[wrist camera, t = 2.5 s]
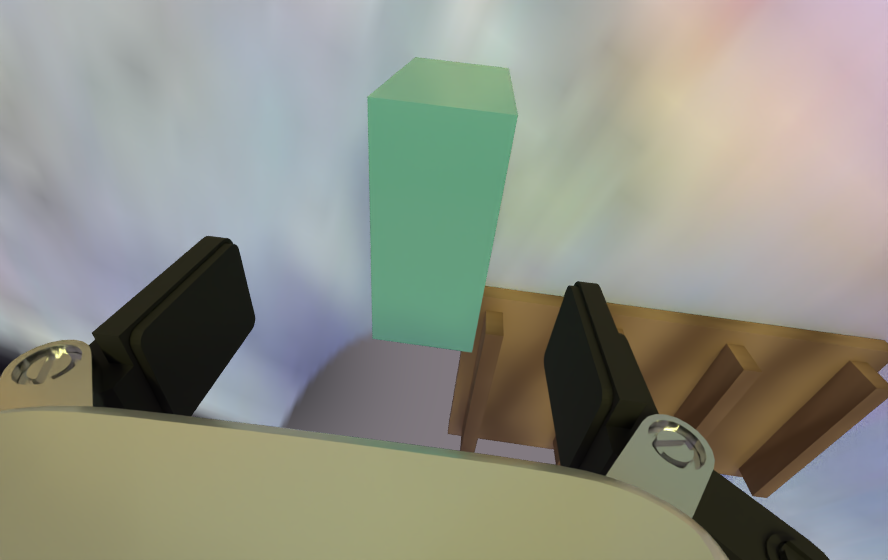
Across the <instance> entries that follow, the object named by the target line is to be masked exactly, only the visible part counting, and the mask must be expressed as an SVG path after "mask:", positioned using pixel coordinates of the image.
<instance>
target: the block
mask: <svg viewBox="0 0 888 560" xmlns="http://www.w3.org/2000/svg"><path fill="white" fill-rule="evenodd" d="M517 117H518V114H517V108H516V103H515V98H514V93H513V88H512V82H511V77H510V72H509V68H502V67H494V66H485V65H477V64H469V63H460V62H452V61H444V60H435V59H427V58H419V57H415V58H414V59H413V60H411V61H410V62H409V63H408V64H407V65H405V66H404V67H403V68H402V69H400V70H399V71H398V72H397V73H396V74H394V75H393V76H392V77H391V78H390V79H388V80H387V81H386V82H385V83H384V84H382V85H381V86H380V87H379V88H377V89H376V90H375V91H374V92H373V93H371V94H370V95H369V96H368V142H369V190H370V238H371V286H372V334H373V339H379V340H386V341H394V342H400V343H407V344H414V345H422V346H429V347H436V348H443V349H450V350H457V351H464V352H471V353H472V350H473V345H474V339H475V334H476V329H477V324H478V319H479V313H480V308H481V303H482V298H483V293H484V288H485V282H486V277H487V272H488V267H489V262H490V257H491V251H492V246H493V241H494V236H495V231H496V226H497V220H498V215H499V210H500V205H501V200H502V195H503V189H504V184H505V179H506V174H507V169H508V163H509V158H510V153H511V148H512V143H513V138H514V132H515V127H516V122H517Z"/></svg>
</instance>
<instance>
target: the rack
mask: <svg viewBox="0 0 888 560" xmlns="http://www.w3.org/2000/svg"><path fill="white" fill-rule="evenodd" d="M563 298H564V297H561V296H554V295H546V294H539V293H532V292H524V291H517V290H510V289H502V288H495V287H488V286H485V288H484V293H483V298H482V303H481V308H480V313H479V319H478V324H477V329H476V334H475V339H474V345H473V350H472V353H471V352H464V351H461V354H460V360H459V367H458V372H457V378H456V384H455V390H454V396H453V401H452V408H451V413H450V419H449V427H448V434H452V435H459V436H461V447H460V451H465V452H472V453H474V452H475V448H476V444H477V440H478V438H480V439H486V440H494V441H500V442H508V443H514V444H521V445H527V446H534V447H541V448H548V449H554V454H555V461H556V465H559V466H561V465H560V459H559V453H558V447H557V441H556V435H555V429H554V423H553V417H552V411H551V405H550V399H549V393H548V387H547V381H546V375H545V369H544V354H545V351H546V348H547V345H548V342H549V339H550V336H551V333H552V330H553V327H554V324H555V322H556V319H557V316H558V313H559V310H560V307H561V304H562V301H563ZM607 305H608V308H609V310H610V313H611V315H612V318H613V320H614V323H615V325H616V327H617V330H618V332H619V333H622V334H623V335H625V337H626V338H627V340H628V342H629V345H630V347H631V349H632V352H633V354H634V356H635V359H636V361H637V364H638V366H639V368H640V371H641V373H642V375H643V378H644V380H645V382H646V385H647V387H648V389H649V392H650V394H651V396H652V399H653V401H654V403H655V406H656V408H657V411H658V413H659V414H664V415H669V416H672V417H676V418H678V419H680V420H682V421H684V422H686V423H688V424H689V425H690V426H692V427H693V428H694V429H696V430H697V431H698V432H699V433H700V434H701V435H702V436H703V437H704V439H705V440H706V441H707V442H708V444H709V446H710V448H711V449H712V451H713V455H714V459H715V462H714V470H715V471H716V472H718V473H719V474H725V475H731V476H738V477H743V479H744V481H745V482H746V484H747V486H748V488H749V490H750V492H751V494H752V496H756V497H763V498H767V497H768V496H770V495H771V494H772V493H773V492H775V491H776V490H777V489H778V488H779V487H781V486H782V485H783V484H784V483H785V482H787V481H788V480H789V479H790V478H791V477H793V476H794V475H795V474H796V473H798V472H799V471H800V470H801V469H802V468H804V467H805V466H806V465H807V464H808V463H810V462H811V461H812V460H813V459H814V458H816V457H817V456H818V455H819V454H821V453H822V452H823V451H824V450H825V449H827V448H828V447H829V446H830V445H831V444H833V443H834V442H835V441H836V440H837V439H839V438H840V437H841V436H842V435H844V434H845V433H846V432H847V431H848V430H850V429H851V428H852V427H853V426H854V425H856V424H857V423H858V422H859V421H860V420H862V419H863V418H864V417H865V416H867V415H868V414H869V413H870V412H871V411H873V410H874V409H875V408H876V407H877V406H879V405H880V404H881V403H882V402H883V401H885V400H886V399H887V398H888V383H887V382H886V381H885V380H884V379H883V378H882V377H881V376H880V375H879V374H878V373H877V372H878V371H880V370H881V369H882V368H883V367H884V366H885V365H886V364H887V363H888V343H887V342H886V341H885V340H877V339H870V338H863V337H855V336H848V335H841V334H833V333H826V332H818V331H811V330H804V329H796V328H789V327H782V326H774V325H767V324H760V323H752V322H745V321H738V320H730V319H723V318H715V317H708V316H701V315H693V314H686V313H679V312H671V311H664V310H657V309H649V308H642V307H635V306H627V305H620V304H613V303H607Z"/></svg>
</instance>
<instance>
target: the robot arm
mask: <svg viewBox="0 0 888 560" xmlns="http://www.w3.org/2000/svg"><path fill="white" fill-rule="evenodd" d="M254 324H255V314H254V310H253V306H252V302H251V298H250V293H249V289H248V285H247V281H246V277H245V273H244V269H243V265H242V260H241V256H240V252H239V249H238V247H237V245H235V244H233V242H232V241H231V240H230V239H228V238H221V237H213V236H206V237H204V238H203V239H202V240H200V241H199V242H198V243H197V244H196V245H195V246H193V247H192V248H191V249H190V250H189V251H187V252H186V253H185V254H184V255H183V256H182V257H180V258H179V259H178V260H177V261H176V262H175V263H173V264H172V265H171V266H170V267H169V268H167V269H166V270H165V271H164V272H163V273H162V274H160V275H159V276H158V277H157V278H156V279H155V280H153V281H152V282H151V283H150V284H149V285H147V286H146V287H145V288H144V289H143V290H142V291H140V292H139V293H138V294H137V295H136V296H135V297H133V298H132V299H131V300H130V301H129V302H127V303H126V304H125V305H124V306H123V307H122V308H120V309H119V310H118V311H117V312H116V313H115V314H113V315H112V316H111V317H110V318H109V319H107V320H106V321H105V322H104V323H103V324H102V325H100V326H99V327H98V328H97V329H96V330H95V331H93V332H92V334H93V336H94V338H95V340H94V341H93V342H92V343H91V344H90V345H88V344H86V343H84V342H83V341H78V340H61V341H56V342H51V343H47V344H44V345H42V346H39V347H36V348H34V349H32V350H30V351H28V352H26V353H24V354H22V355H21V356H19V357H18V358H16V359H15V360H14V361H12V362H11V363H10V364H9V365H8V366H7V367H6V368H5V370H4V372H3V374H2V376H1V379H0V560H829V558H828V557H827V556H826V555H825V554H824V553H823V552H822V551H821V550H820V549H819V548H818V547H816V546H815V545H814V544H813V543H812V542H811V541H809V540H808V539H807V538H805V537H804V536H803V535H801V534H800V533H799V532H797V531H796V530H795V529H793V528H792V527H790V526H789V525H788V524H786V523H785V522H784V521H782V520H781V519H780V518H778V517H777V516H776V515H774V514H773V513H772V512H770V511H769V510H768V509H766V508H765V507H763V506H762V505H761V504H759V503H758V502H757V501H755V500H754V499H753V498H751V497H750V496H749V495H747V494H746V493H745V492H743V491H742V490H741V489H739V488H738V487H736V486H735V485H734V484H732V483H731V482H730V481H728V480H727V479H726V478H724V477H723V476H722V475H720V474H719V473H718V472H716V471H715V470H714V462H715V459H714V455H713V451H712V449H711V448H710V446H709V444H708V442H707V441H706V440H705V439H704V437H703V436H702V435H701V434H700V433H699V432H698V431H697V430H696V429H694V428H693V427H692V426H690V425H689V424H688V423H686V422H684V421H682V420H680V419H678V418H676V417H672V416H669V415H664V414H659V413H658V411H657V408H656V406H655V403H654V401H653V399H652V396H651V394H650V392H649V389H648V387H647V385H646V382H645V380H644V378H643V375H642V373H641V371H640V368H639V366H638V364H637V361H636V359H635V356H634V354H633V352H632V349H631V347H630V345H629V342H628V340H627V338H626V337H625V335H623V334H622V333H619V332H618V330H617V327H616V325H615V323H614V320H613V318H612V315H611V313H610V310H609V308H608V305H607V303H606V300H605V298H604V296H603V293H602V291H601V288H600V286H599V285H598V284H595V283H587V282H579V281H577V282H576V283H575V284H574V286H568V287H567V290H566V292H565V295H564V298H563V301H562V304H561V307H560V310H559V313H558V316H557V319H556V322H555V324H554V327H553V330H552V333H551V336H550V339H549V342H548V345H547V348H546V351H545V354H544V369H545V375H546V381H547V387H548V393H549V399H550V405H551V411H552V417H553V423H554V429H555V435H556V441H557V447H558V453H559V459H560V465H561V466H559V465H554V464H548V463H540V462H534V461H528V460H521V459H514V458H508V457H501V456H494V455H487V454H479V453H472V452H465V451H457V450H450V449H442V448H435V447H427V446H420V445H413V444H404V443H398V442H390V441H382V440H374V439H366V438H359V437H351V436H343V435H336V434H328V433H320V432H312V431H304V430H297V429H288V428H281V427H273V426H265V425H257V424H249V423H241V422H232V421H224V420H216V419H208V418H200V417H192V414H193V413H194V411H195V410H196V409H197V407H198V406H199V404H200V403H201V401H202V400H203V399H204V397H205V396H206V394H207V393H208V391H209V390H210V389H211V387H212V386H213V384H214V383H215V381H216V380H217V379H218V377H219V376H220V374H221V373H222V371H223V370H224V369H225V367H226V366H227V364H228V363H229V362H230V360H231V359H232V357H233V356H234V354H235V353H236V352H237V350H238V349H239V347H240V346H241V344H242V343H243V342H244V340H245V339H246V337H247V336H248V334H249V333H250V332H251V330H252V329H253V327H254Z"/></svg>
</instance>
